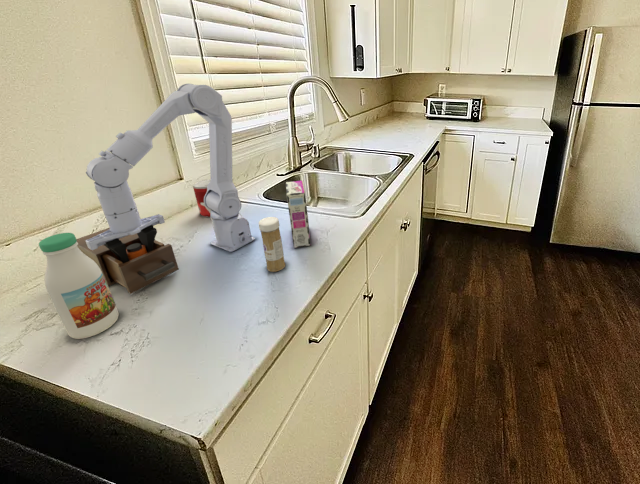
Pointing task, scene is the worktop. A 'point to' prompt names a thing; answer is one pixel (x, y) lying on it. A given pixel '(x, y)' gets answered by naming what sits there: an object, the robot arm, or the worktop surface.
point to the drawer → (141, 267)
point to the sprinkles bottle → (272, 243)
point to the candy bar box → (298, 213)
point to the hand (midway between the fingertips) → (138, 261)
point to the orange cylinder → (135, 251)
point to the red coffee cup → (201, 196)
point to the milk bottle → (77, 288)
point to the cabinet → (102, 251)
